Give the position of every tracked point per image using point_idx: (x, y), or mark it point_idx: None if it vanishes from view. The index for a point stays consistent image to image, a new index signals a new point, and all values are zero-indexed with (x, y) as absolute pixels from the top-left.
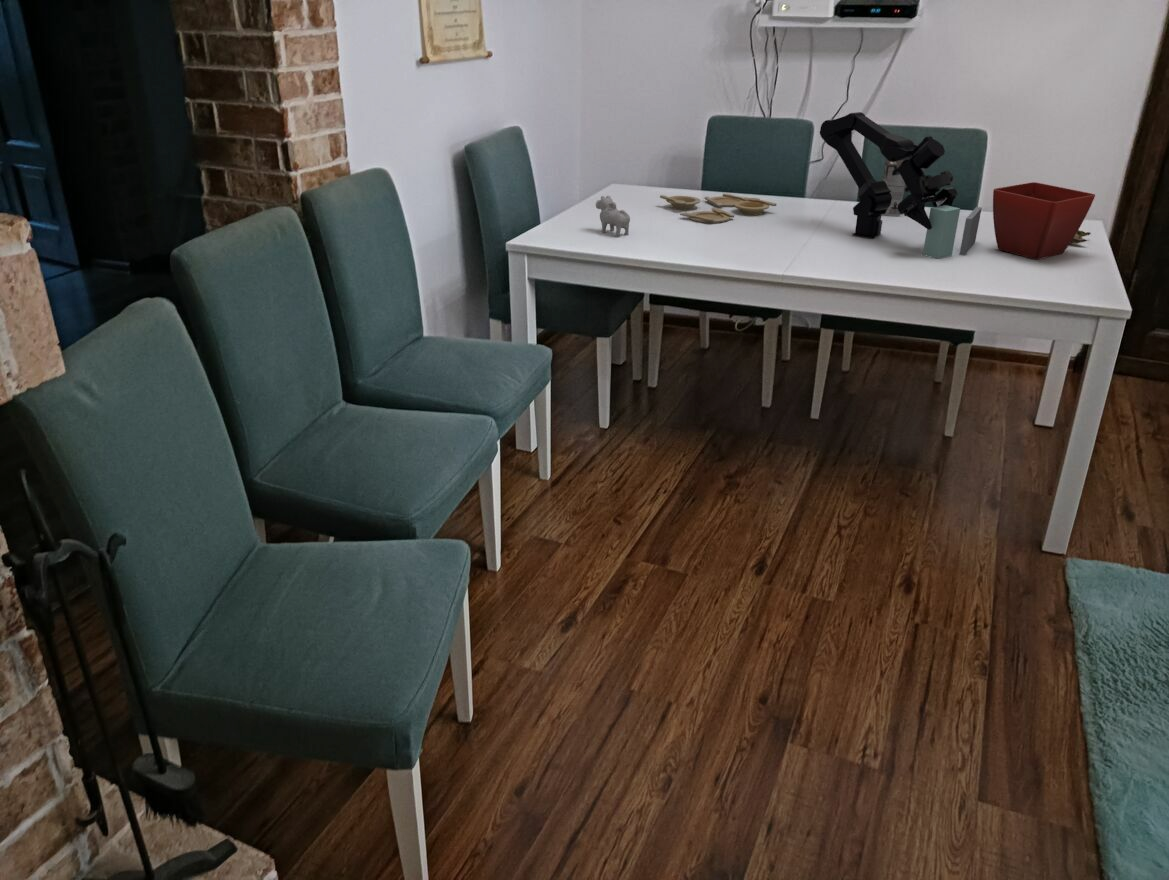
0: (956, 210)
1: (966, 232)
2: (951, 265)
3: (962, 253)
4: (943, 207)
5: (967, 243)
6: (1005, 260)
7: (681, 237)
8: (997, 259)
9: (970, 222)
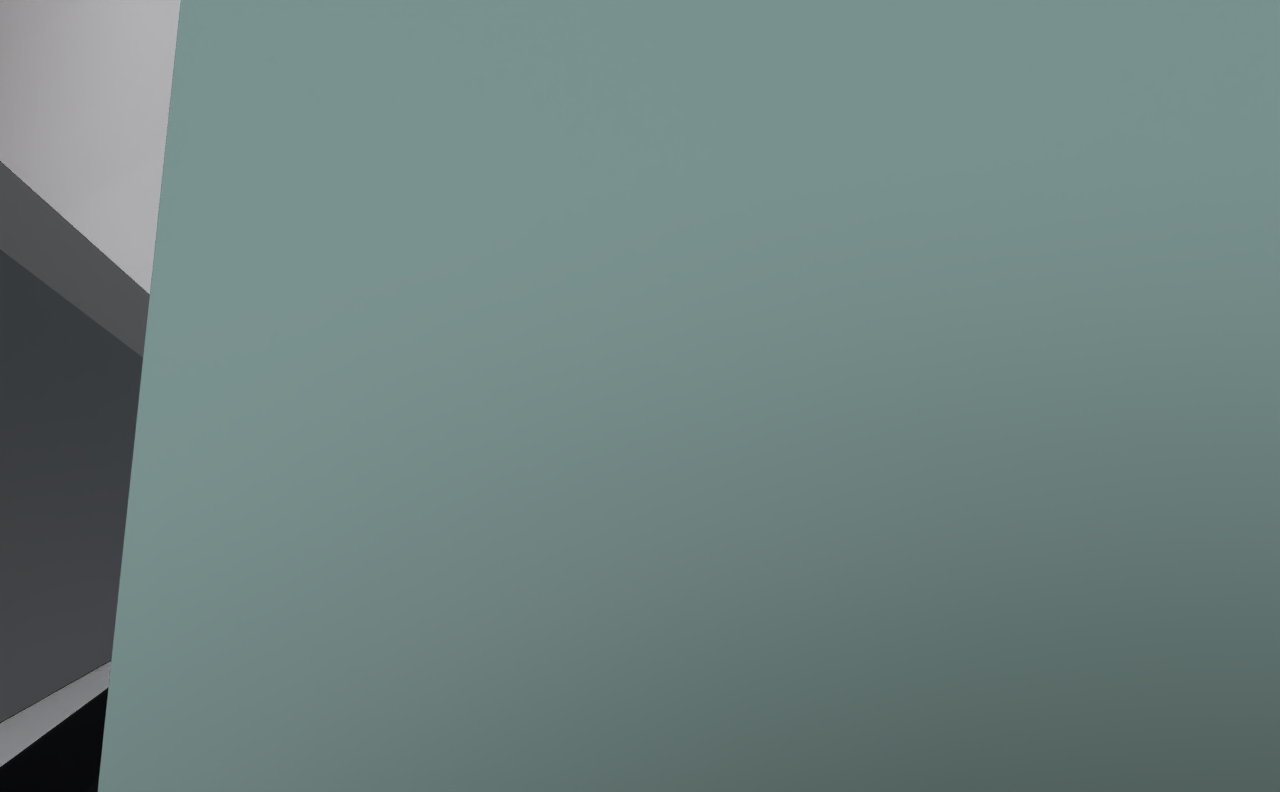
0: (514, 10)
1: None
2: None
3: None
4: (866, 709)
5: None
6: (101, 17)
7: None
8: (140, 89)
9: (10, 171)
